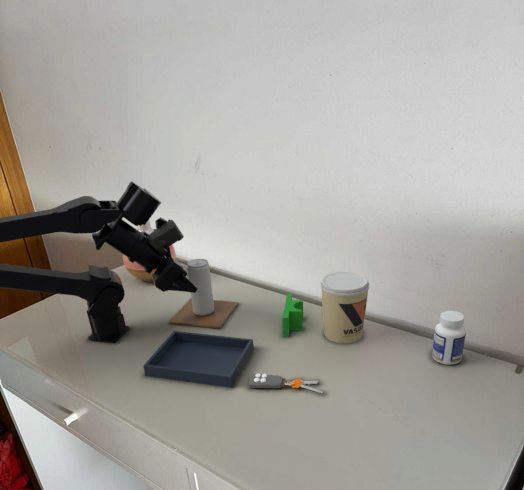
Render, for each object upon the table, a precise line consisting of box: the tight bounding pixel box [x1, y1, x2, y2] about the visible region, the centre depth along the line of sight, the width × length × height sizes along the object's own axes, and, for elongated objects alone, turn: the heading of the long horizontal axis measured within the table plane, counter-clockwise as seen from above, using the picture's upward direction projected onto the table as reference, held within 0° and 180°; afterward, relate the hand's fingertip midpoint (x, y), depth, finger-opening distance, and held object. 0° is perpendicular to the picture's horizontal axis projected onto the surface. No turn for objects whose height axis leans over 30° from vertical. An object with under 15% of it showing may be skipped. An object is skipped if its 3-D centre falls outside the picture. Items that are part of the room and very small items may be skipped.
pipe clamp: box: [282, 293, 304, 338], centre depth 106 cm, size 11×4×5 cm, turn 173°
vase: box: [122, 219, 177, 283], centre depth 129 cm, size 14×14×18 cm
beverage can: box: [186, 258, 214, 316], centre depth 110 cm, size 5×5×12 cm
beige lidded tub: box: [320, 271, 370, 344], centre depth 99 cm, size 9×9×12 cm
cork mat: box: [169, 298, 239, 330], centre depth 113 cm, size 12×12×1 cm
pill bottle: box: [431, 310, 467, 366], centre depth 91 cm, size 5×5×9 cm
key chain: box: [248, 372, 323, 394], centre depth 87 cm, size 13×4×2 cm, turn 80°
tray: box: [142, 330, 255, 388], centre depth 95 cm, size 17×13×2 cm
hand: (191, 282), depth 109 cm, fingers open, 9 cm apart
